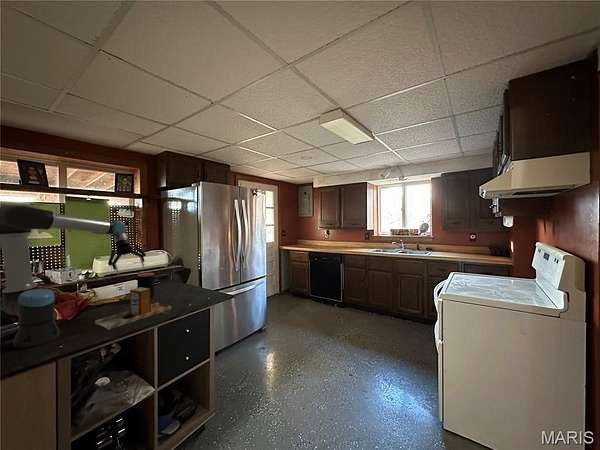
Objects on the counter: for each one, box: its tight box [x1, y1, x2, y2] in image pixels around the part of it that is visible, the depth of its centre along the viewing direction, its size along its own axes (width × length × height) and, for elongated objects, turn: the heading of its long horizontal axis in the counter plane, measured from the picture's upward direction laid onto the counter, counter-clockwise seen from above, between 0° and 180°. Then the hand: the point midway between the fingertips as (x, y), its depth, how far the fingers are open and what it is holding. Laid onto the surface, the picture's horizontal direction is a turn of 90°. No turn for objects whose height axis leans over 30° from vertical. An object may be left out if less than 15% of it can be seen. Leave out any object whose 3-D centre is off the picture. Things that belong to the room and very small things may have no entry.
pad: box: [97, 317, 126, 329], centre depth 137 cm, size 11×11×1 cm
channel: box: [94, 302, 172, 331], centre depth 147 cm, size 35×14×2 cm, turn 151°
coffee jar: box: [136, 272, 155, 299], centre depth 182 cm, size 11×11×18 cm
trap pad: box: [151, 304, 166, 312], centre depth 158 cm, size 9×11×1 cm
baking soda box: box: [129, 287, 152, 317], centre depth 149 cm, size 10×6×16 cm
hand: (131, 269), depth 154 cm, fingers open, 13 cm apart
